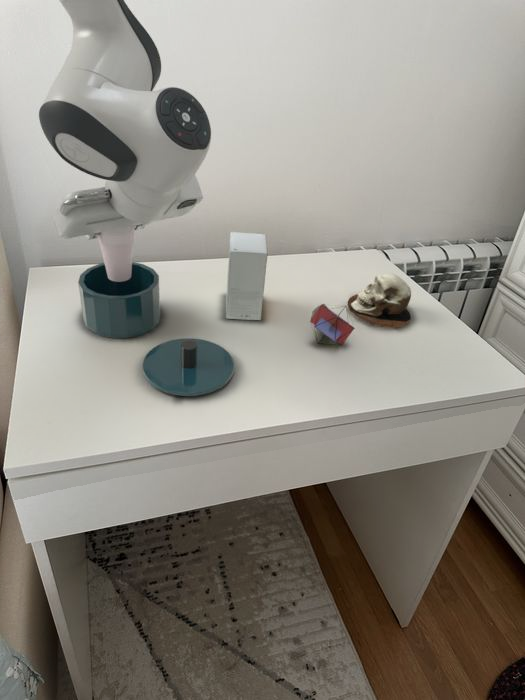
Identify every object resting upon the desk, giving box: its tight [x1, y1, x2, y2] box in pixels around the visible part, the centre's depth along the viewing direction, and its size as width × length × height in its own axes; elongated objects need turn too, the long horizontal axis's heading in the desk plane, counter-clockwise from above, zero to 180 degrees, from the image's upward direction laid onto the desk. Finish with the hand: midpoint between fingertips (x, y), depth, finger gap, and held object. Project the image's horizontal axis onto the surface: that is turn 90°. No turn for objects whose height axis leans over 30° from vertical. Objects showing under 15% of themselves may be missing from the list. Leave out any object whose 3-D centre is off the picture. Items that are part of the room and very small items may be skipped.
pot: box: [77, 261, 161, 339], centre depth 89 cm, size 13×13×8 cm
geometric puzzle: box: [309, 303, 356, 346], centre depth 89 cm, size 7×7×8 cm
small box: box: [225, 231, 269, 321], centre depth 93 cm, size 8×6×13 cm
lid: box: [142, 337, 235, 397], centre depth 80 cm, size 14×14×5 cm
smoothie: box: [97, 225, 137, 282], centre depth 83 cm, size 6×6×14 cm
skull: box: [347, 272, 412, 329], centre depth 99 cm, size 12×10×10 cm
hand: (114, 229), depth 83 cm, fingers closed on smoothie, 6 cm apart
